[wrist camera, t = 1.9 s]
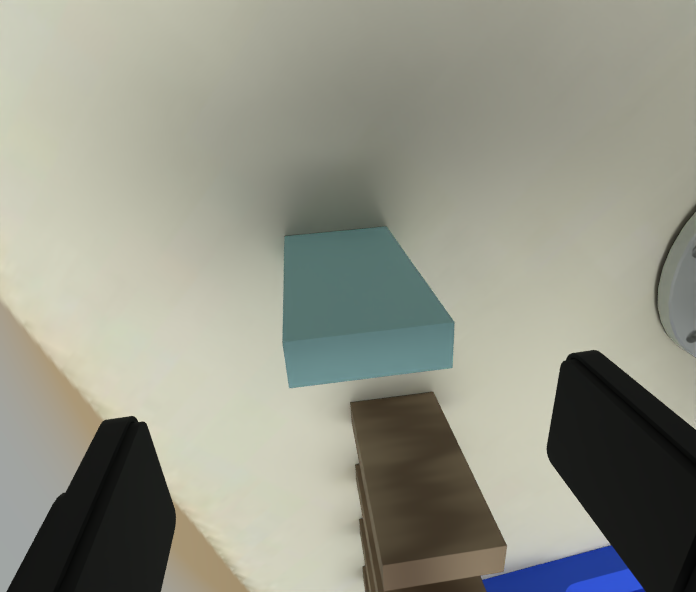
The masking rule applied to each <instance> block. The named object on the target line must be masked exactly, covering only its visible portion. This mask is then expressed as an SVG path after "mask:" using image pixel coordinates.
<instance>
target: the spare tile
mask: <svg viewBox="0 0 696 592" xmlns="http://www.w3.org/2000/svg"><path fill="white" fill-rule="evenodd" d="M282 342H283V349H284V356H285V363H286V370H287V377H288V383H289V388H296V387H304V386H312V385H320V384H328V383H336V382H344V381H352V380H360V379H368V378H376V377H384V376H392V375H400V374H408V373H416V372H424V371H432V370H440V369H448V368H452V366H453V344H454V321H453V319H452V318H451V317H450V315H449V314H448V312H447V311H446V310H445V308H444V307H443V305H442V304H441V303H440V301H439V300H438V298H437V297H436V296H435V294H434V293H433V291H432V290H431V288H430V287H429V286H428V284H427V283H426V281H425V280H424V279H423V277H422V276H421V274H420V273H419V272H418V270H417V269H416V267H415V266H414V265H413V263H412V262H411V260H410V259H409V258H408V256H407V255H406V253H405V252H404V250H403V249H402V248H401V246H400V245H399V243H398V242H397V241H396V239H395V238H394V236H393V235H392V234H391V232H390V231H389V229H388V228H387V227H386V226H385V227H375V228H364V229H354V230H344V231H333V232H323V233H313V234H302V235H292V236H285V242H284V292H283V341H282Z"/></svg>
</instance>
